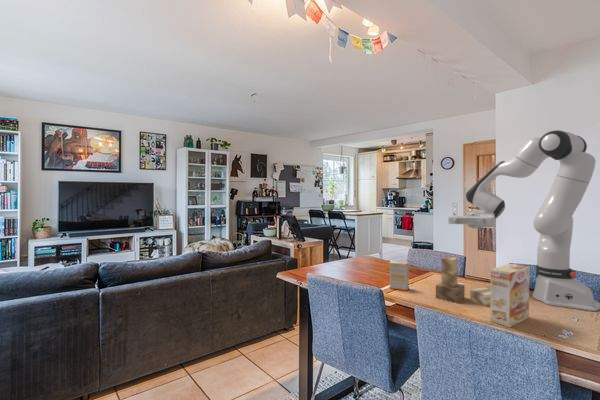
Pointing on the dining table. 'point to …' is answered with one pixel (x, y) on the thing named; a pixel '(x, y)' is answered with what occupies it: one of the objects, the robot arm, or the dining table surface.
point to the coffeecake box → (509, 294)
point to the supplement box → (399, 275)
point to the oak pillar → (449, 271)
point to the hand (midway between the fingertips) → (465, 221)
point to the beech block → (481, 296)
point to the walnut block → (450, 292)
